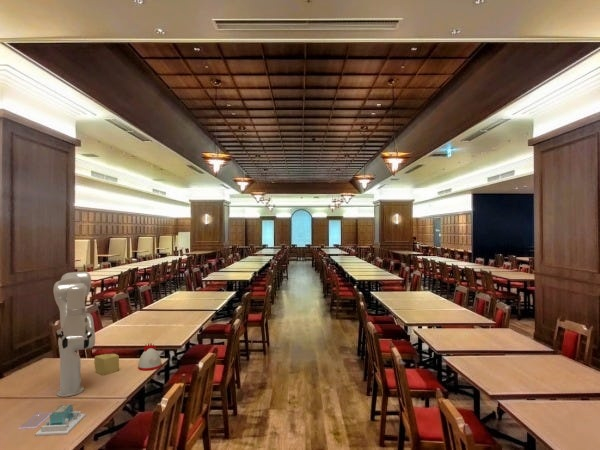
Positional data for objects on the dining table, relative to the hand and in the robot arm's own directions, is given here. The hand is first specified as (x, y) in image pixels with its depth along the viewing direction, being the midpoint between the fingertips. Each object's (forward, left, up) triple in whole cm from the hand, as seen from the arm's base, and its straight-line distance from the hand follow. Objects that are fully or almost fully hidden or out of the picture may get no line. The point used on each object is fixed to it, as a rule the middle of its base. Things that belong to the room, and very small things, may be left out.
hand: (75, 347), depth 197 cm
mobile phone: (+8, -14, -31) cm, 35 cm away
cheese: (-57, -7, -31) cm, 65 cm away
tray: (+14, 0, -30) cm, 33 cm away
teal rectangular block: (+14, 0, -30) cm, 33 cm away
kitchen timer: (-63, +17, -31) cm, 72 cm away
